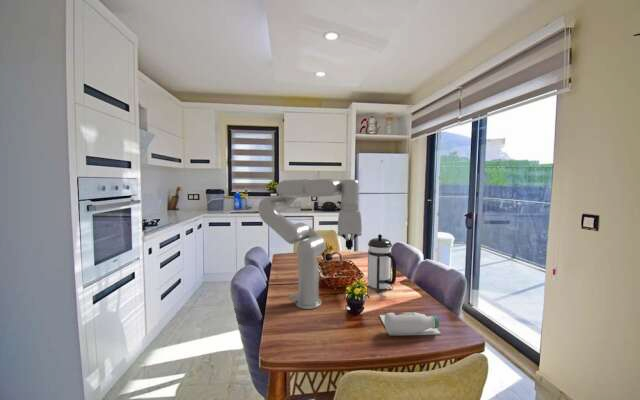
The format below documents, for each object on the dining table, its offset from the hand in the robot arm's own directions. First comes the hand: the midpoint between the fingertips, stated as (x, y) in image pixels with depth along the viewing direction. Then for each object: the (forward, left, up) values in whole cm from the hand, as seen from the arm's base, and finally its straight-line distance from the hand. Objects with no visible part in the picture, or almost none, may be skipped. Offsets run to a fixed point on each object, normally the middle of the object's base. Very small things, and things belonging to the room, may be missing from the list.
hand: (349, 248), depth 129 cm
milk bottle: (+12, -19, -25) cm, 34 cm away
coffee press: (+22, +28, -29) cm, 46 cm away
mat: (+23, -12, -29) cm, 39 cm away
